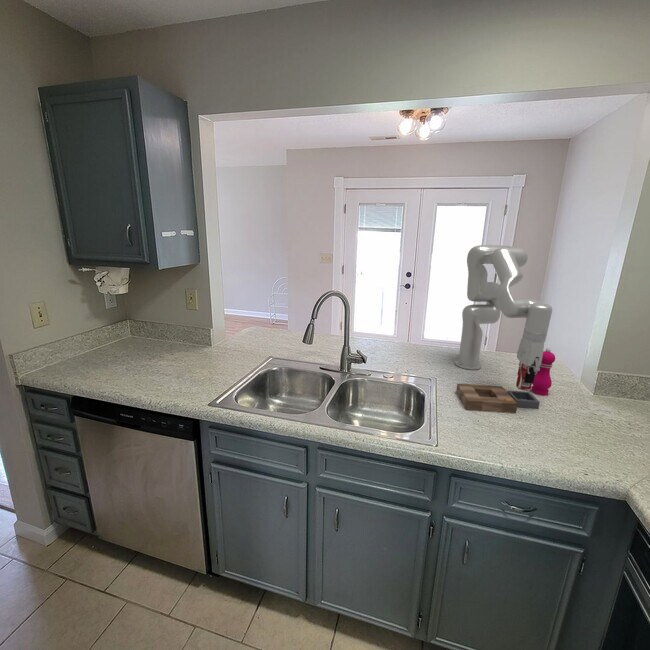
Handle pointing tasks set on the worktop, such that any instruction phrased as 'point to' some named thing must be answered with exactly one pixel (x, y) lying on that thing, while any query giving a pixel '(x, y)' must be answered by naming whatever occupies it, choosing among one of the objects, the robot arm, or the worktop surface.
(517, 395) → the holster
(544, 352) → the pepper mill
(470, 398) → the block
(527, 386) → the soda can
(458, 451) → the worktop surface
